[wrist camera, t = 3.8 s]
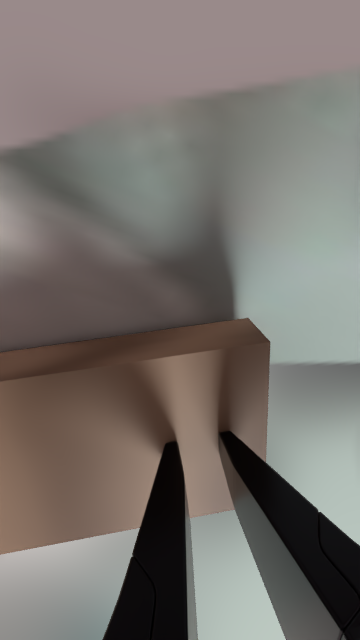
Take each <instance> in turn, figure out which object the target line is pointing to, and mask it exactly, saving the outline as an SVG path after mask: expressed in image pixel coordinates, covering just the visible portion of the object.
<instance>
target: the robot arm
mask: <svg viewBox="0 0 360 640" xmlns="http://www.w3.org/2000/svg"><path fill="white" fill-rule="evenodd" d="M218 443H219V455H220V459H221V463H222V466H223V470H224V473H225V477H226V481H227V484H228V488H229V492H230V495H231V499H232V502H233V505H234V508H235V511H236V513H237V516H238V519H239V521H240V524H241V526H242V529H243V532H244V534H245V536H246V539H247V542H248V544H249V547H250V549H251V552H252V554H253V557H254V559H255V562H256V565H257V567H258V570H259V572H260V575H261V577H262V580H263V582H264V585H265V587H266V590H267V593H268V595H269V598H270V600H271V603H272V605H273V608H274V610H275V613H276V615H277V618H278V621H279V623H280V626H281V628H282V631H283V633H284V636H285V638H286V640H360V546H359V545H358V544H357V543H356V542H354V541H353V540H352V539H351V538H349V537H348V536H347V535H346V534H345V533H344V532H342V531H341V530H340V529H339V528H338V527H337V526H336V525H335V524H333V523H332V522H331V521H330V520H329V519H328V518H327V517H326V516H325V515H323V514H322V513H321V512H319V513H318V509H317V508H316V507H314V506H313V505H312V504H311V503H310V502H309V501H308V500H307V499H306V498H305V497H303V496H302V495H301V494H300V493H299V492H298V491H297V490H296V489H294V487H292V486H291V485H290V484H289V483H288V482H287V481H286V480H285V479H284V478H282V477H281V476H280V475H279V474H278V473H277V472H276V471H275V470H274V469H272V468H271V467H270V466H269V465H268V464H267V463H266V462H265V461H264V460H263V459H261V458H260V457H259V456H258V455H257V454H256V453H255V452H254V451H253V450H251V449H250V448H249V447H248V446H247V445H246V444H245V443H244V442H243V441H242V440H240V439H239V438H238V437H237V436H236V435H235V434H234V433H233V432H231V431H224V432H220V433H219V434H218ZM132 555H133V557H131V559H130V563H129V566H128V569H127V573H126V576H125V579H124V582H123V585H122V588H121V591H120V595H119V598H118V600H117V603H116V606H115V608H114V611H113V614H112V616H111V619H110V622H109V624H108V627H107V630H106V632H105V635H104V637H103V640H198V634H197V618H196V603H195V589H194V572H193V557H192V541H191V526H190V515H189V508H188V500H187V492H186V485H185V477H184V470H183V465H182V460H181V455H180V450H179V445H178V442H177V441H173V442H168V443H166V444H165V445H164V448H163V452H162V455H161V459H160V462H159V465H158V469H157V472H156V475H155V479H154V482H153V486H152V489H151V492H150V496H149V499H148V502H147V506H146V509H145V513H144V516H143V519H142V523H141V526H140V530H139V533H138V536H137V540H136V543H135V546H134V550H133V553H132Z"/></svg>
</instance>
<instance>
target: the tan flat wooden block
mask: <svg viewBox="0 0 360 640" xmlns="http://www.w3.org/2000/svg"><path fill="white" fill-rule="evenodd" d="M269 361H270V341H269V340H268V339H267V338H266V337H265V336H264V335H263V334H262V332H261V331H260V330H259V329H258V328H257V327H256V326H255V325H254V324H253V323H252V322H251V320H250V319H249V318H244V319H237V320H230V321H222V322H215V323H208V324H201V325H194V326H187V327H179V328H172V329H165V330H158V331H151V332H144V333H136V334H129V335H122V336H115V337H108V338H101V339H93V340H86V341H79V342H72V343H65V344H58V345H50V346H43V347H36V348H29V349H22V350H15V351H7V352H0V554H5V553H10V552H16V551H21V550H26V549H31V548H37V547H42V546H47V545H53V544H58V543H63V542H68V541H73V540H79V539H84V538H89V537H93V536H99V535H104V534H110V533H115V532H120V531H125V530H131V529H136V528H140V526H141V523H142V519H143V516H144V513H145V509H146V506H147V502H148V499H149V496H150V492H151V489H152V486H153V482H154V479H155V475H156V472H157V469H158V465H159V462H160V459H161V455H162V452H163V448H164V445H165V444H166V443H168V442H173V441H177V442H178V445H179V450H180V455H181V460H182V465H183V470H184V477H185V485H186V492H187V500H188V508H189V515H190V518H193V517H198V516H203V515H208V514H214V513H219V512H224V511H229V510H235V508H234V505H233V502H232V499H231V495H230V492H229V488H228V484H227V481H226V477H225V473H224V470H223V466H222V463H221V459H220V455H219V443H218V434H219V433H220V432H224V431H231V432H233V433H234V434H235V435H236V436H237V437H238V438H239V439H240V440H242V441H243V442H244V443H245V444H246V445H247V446H248V447H249V448H250V449H251V450H253V451H254V452H255V453H256V454H257V455H258V456H259V457H260V458H261V459H263V460H264V461H265V462H266V443H267V442H266V441H267V416H268V389H269V387H268V386H269Z"/></svg>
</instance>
